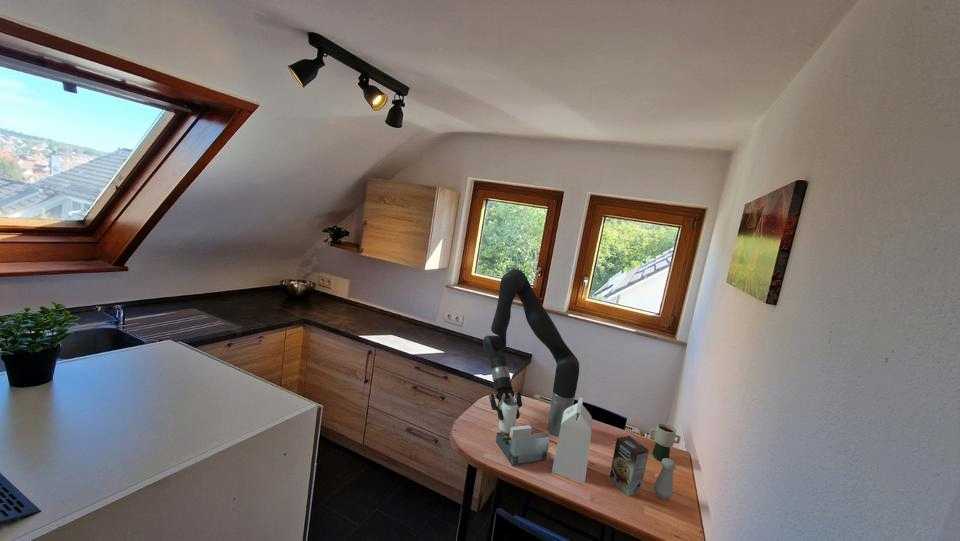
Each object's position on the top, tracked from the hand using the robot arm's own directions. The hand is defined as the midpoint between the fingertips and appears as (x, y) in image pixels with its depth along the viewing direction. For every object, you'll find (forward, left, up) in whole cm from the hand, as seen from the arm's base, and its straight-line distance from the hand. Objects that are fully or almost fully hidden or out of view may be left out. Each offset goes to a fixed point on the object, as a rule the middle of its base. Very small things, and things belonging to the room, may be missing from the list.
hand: (509, 419), depth 158 cm
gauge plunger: (+2, +10, -6) cm, 11 cm away
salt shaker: (-38, +44, -7) cm, 58 cm away
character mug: (-55, +27, -7) cm, 61 cm away
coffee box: (-28, +37, -7) cm, 47 cm away
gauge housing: (0, +11, -7) cm, 13 cm away
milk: (-14, +24, -7) cm, 28 cm away
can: (0, -2, -6) cm, 6 cm away
